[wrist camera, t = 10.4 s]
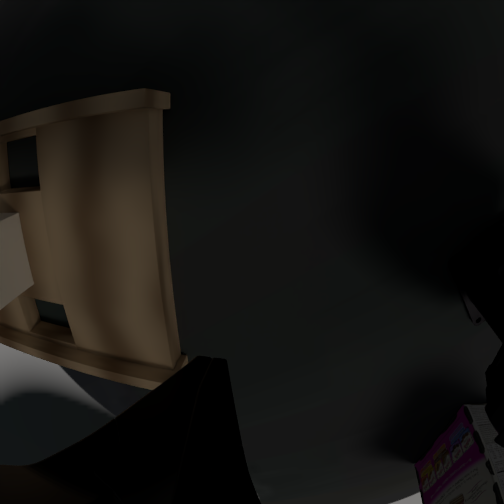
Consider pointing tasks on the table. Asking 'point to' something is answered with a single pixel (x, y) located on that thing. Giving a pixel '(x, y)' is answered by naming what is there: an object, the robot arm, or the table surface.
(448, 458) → the candy bar box
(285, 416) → the table surface
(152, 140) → the wooden tray
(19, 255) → the cream block
